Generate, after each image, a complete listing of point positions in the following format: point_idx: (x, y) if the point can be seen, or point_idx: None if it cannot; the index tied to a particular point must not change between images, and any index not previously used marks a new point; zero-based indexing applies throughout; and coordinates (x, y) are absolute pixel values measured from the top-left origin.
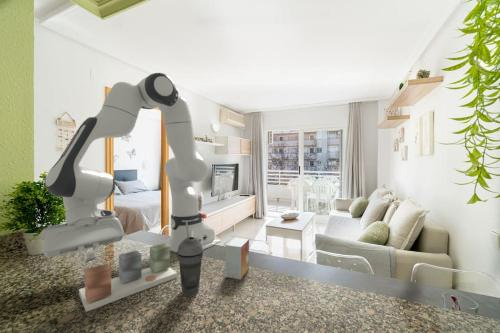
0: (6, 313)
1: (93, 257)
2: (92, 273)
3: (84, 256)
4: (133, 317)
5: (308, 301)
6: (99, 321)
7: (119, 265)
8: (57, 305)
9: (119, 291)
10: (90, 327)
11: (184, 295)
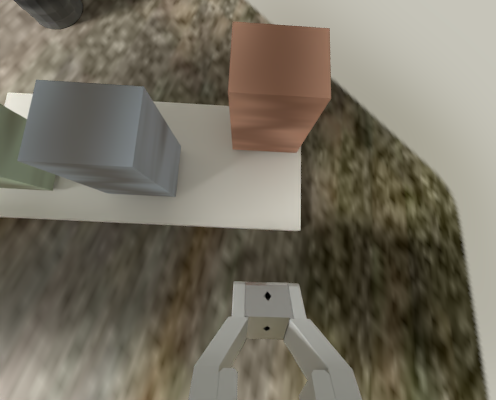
0: (463, 270)
1: (251, 283)
2: (311, 29)
3: (303, 305)
4: (218, 19)
5: None
6: None
7: (157, 176)
8: (351, 210)
9: (207, 116)
10: None
11: (81, 5)
